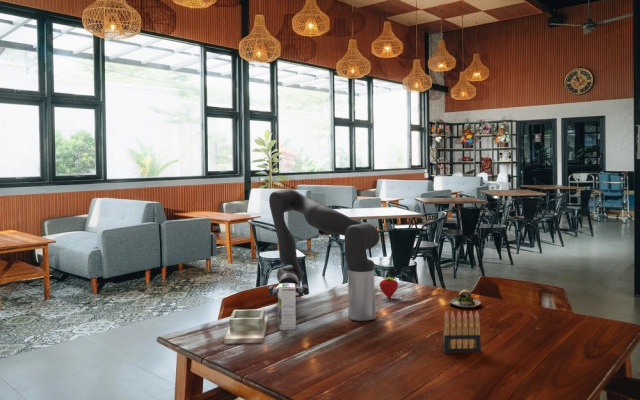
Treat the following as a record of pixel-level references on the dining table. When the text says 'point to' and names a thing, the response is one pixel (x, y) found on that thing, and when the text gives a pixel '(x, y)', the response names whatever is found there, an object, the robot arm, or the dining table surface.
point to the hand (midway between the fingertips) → (287, 294)
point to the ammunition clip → (461, 334)
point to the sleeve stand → (247, 326)
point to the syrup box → (287, 306)
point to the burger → (465, 300)
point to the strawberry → (388, 286)
